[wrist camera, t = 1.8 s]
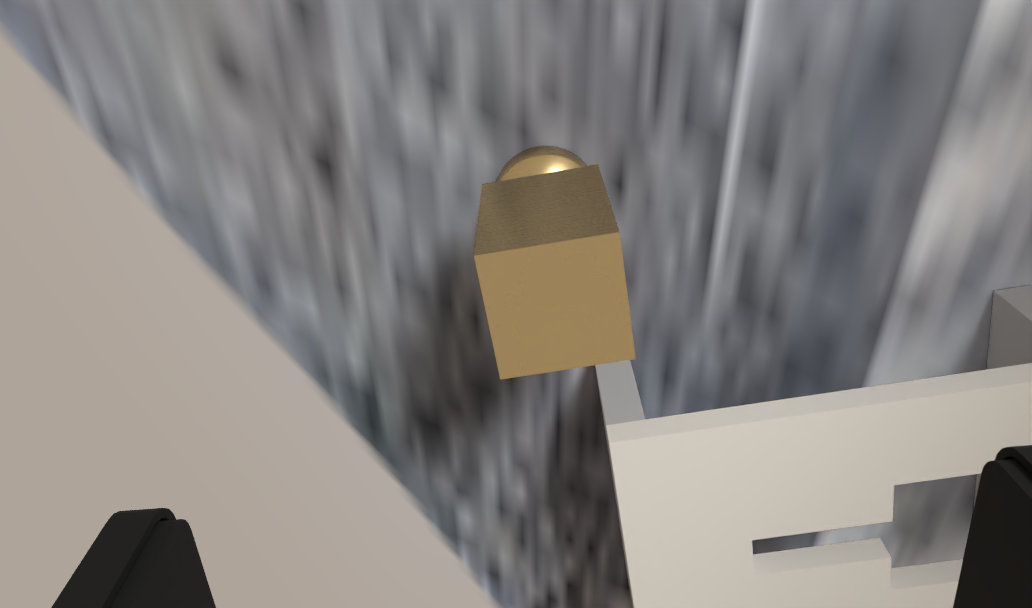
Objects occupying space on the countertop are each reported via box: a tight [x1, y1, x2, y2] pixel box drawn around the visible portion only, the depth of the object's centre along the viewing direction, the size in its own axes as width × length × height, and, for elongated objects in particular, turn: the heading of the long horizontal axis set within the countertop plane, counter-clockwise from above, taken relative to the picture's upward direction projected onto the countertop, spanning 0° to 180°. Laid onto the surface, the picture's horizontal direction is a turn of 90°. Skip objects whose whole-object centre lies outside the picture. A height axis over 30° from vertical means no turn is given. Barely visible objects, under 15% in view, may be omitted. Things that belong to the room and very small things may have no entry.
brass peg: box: [474, 146, 636, 380], centre depth 30 cm, size 4×4×11 cm
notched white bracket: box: [595, 285, 1032, 608], centre depth 37 cm, size 20×14×7 cm
